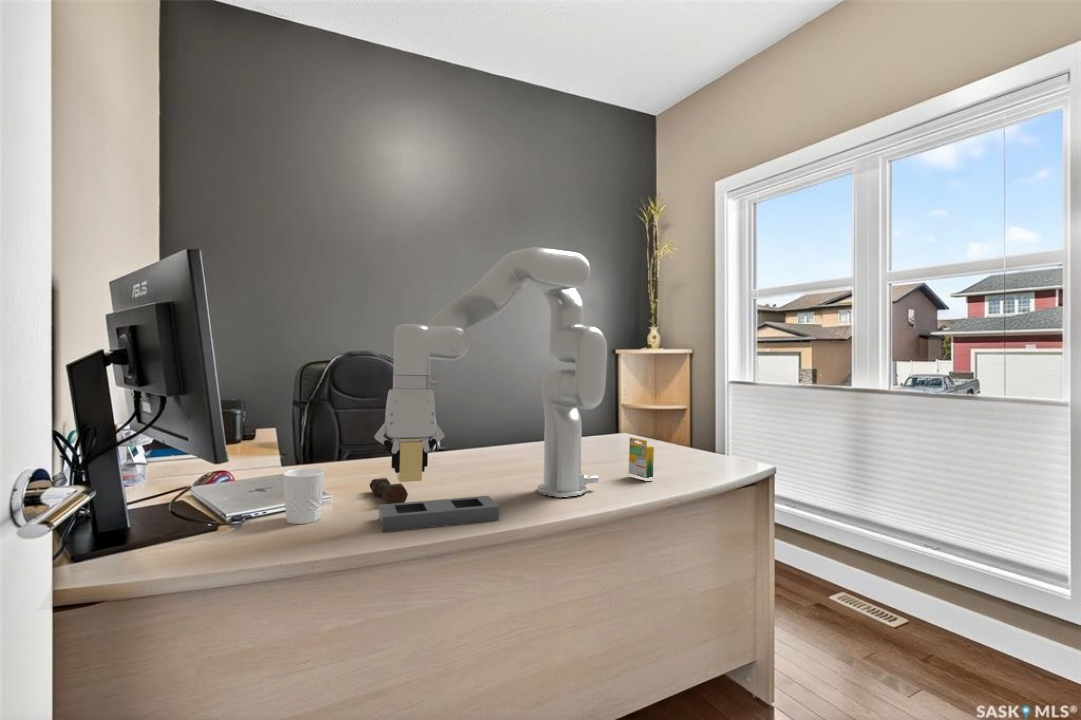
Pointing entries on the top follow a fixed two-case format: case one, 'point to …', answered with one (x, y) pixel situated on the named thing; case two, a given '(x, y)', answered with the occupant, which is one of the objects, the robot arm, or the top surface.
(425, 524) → the grey peg board
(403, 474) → the gold block
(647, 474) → the crayon box
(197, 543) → the top surface
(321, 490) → the white cup
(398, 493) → the bolt
